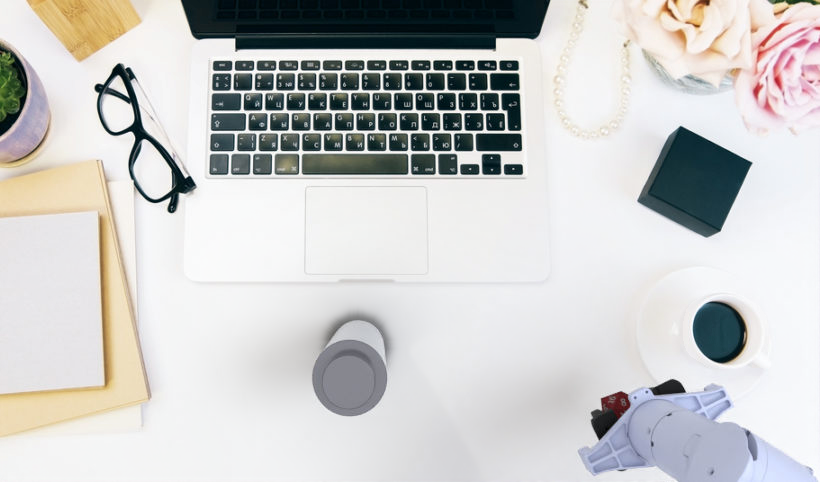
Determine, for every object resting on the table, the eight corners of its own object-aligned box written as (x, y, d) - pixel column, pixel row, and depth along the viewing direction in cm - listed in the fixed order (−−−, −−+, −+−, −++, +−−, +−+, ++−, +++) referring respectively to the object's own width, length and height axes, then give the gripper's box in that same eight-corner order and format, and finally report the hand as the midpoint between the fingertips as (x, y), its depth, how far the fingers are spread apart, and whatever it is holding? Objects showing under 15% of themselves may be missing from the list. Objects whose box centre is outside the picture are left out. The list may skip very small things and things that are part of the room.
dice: (586, 401, 65) (600, 409, 61) (620, 380, 65) (636, 387, 61) (605, 432, 64) (620, 442, 60) (639, 410, 64) (657, 419, 60)
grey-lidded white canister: (393, 359, 72) (401, 401, 48) (345, 382, 72) (329, 436, 48) (370, 311, 72) (366, 329, 48) (323, 334, 72) (296, 363, 48)
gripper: (737, 363, 50) (660, 345, 64) (585, 438, 50) (540, 404, 63) (778, 440, 49) (692, 405, 63) (625, 517, 49) (571, 465, 63)
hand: (618, 409), depth 63 cm, fingers closed on dice, 4 cm apart
